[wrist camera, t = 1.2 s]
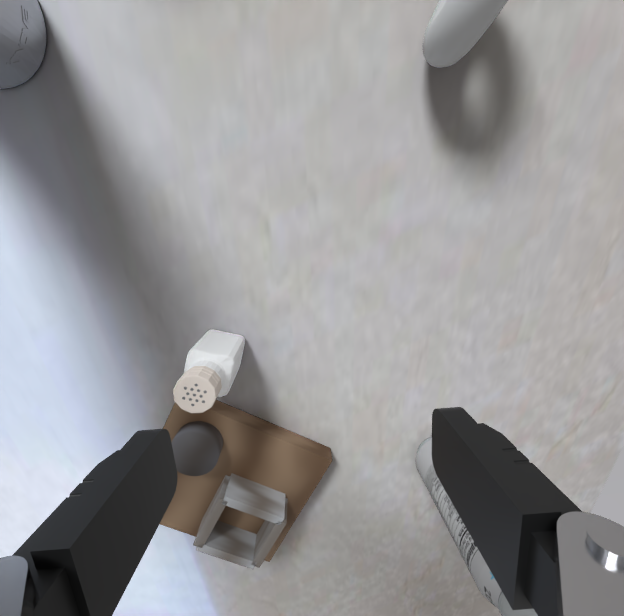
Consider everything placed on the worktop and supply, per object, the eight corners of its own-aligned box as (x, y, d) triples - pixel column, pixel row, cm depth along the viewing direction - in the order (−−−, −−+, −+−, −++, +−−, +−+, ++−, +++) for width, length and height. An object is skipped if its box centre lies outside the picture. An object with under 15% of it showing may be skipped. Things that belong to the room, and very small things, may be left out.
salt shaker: (208, 326, 31) (170, 365, 21) (247, 334, 31) (225, 376, 22) (202, 361, 32) (163, 413, 22) (240, 368, 32) (216, 422, 23)
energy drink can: (455, 475, 37) (559, 633, 22) (408, 472, 36) (482, 631, 22) (466, 432, 35) (585, 571, 21) (417, 429, 35) (504, 568, 20)
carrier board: (133, 496, 35) (107, 538, 30) (185, 386, 32) (165, 413, 27) (270, 545, 38) (266, 590, 33) (330, 448, 35) (335, 482, 30)
